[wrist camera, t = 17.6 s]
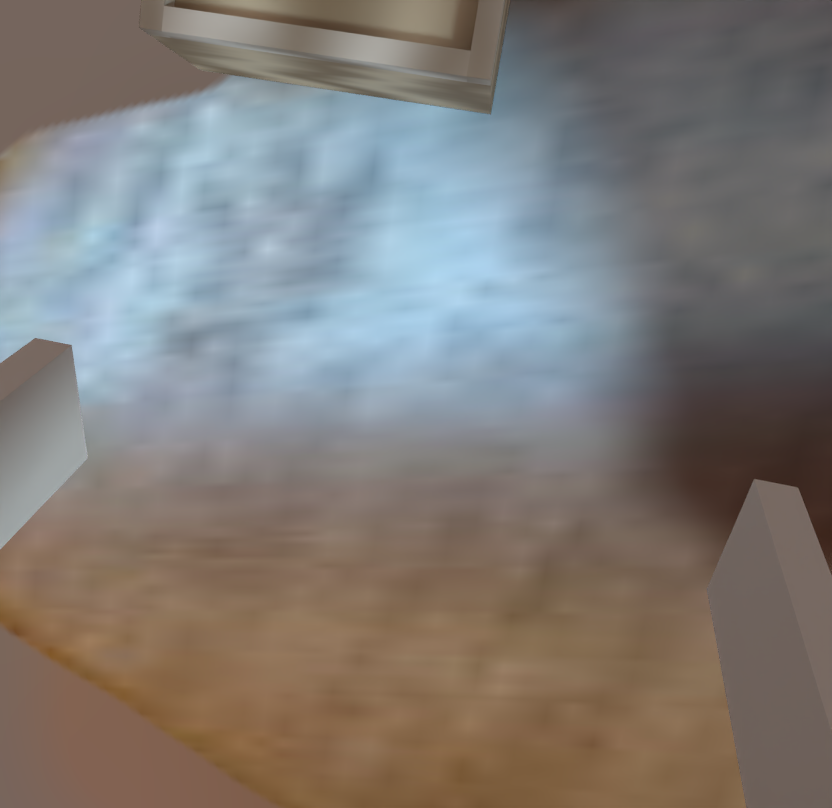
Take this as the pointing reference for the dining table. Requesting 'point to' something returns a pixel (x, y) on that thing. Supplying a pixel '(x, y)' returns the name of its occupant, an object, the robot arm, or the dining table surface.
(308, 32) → the maple tray
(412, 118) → the dining table surface
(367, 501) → the dining table surface
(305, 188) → the dining table surface
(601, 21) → the dining table surface
